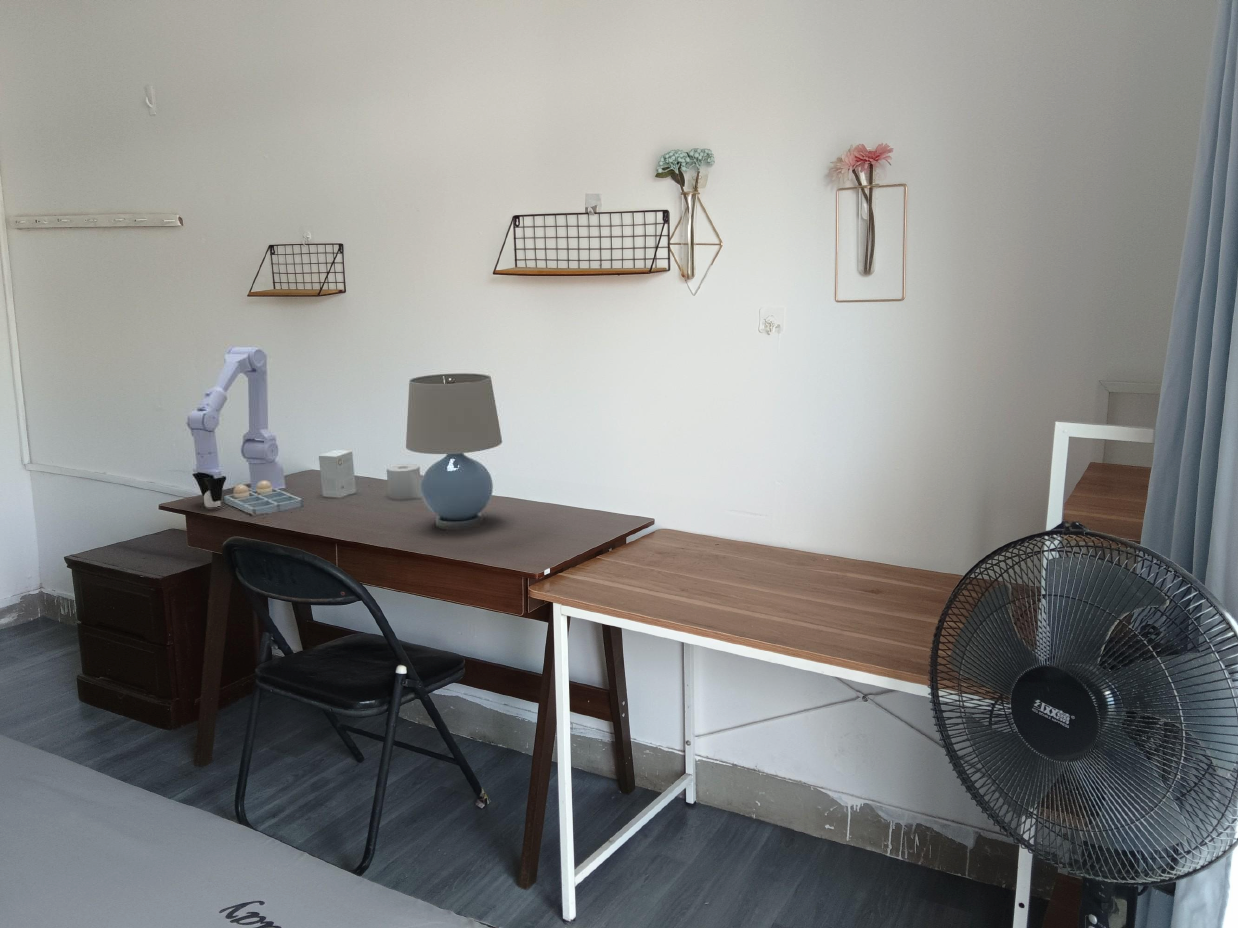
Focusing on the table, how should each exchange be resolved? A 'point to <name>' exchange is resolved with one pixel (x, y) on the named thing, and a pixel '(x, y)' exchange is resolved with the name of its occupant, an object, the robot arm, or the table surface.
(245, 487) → the brown egg
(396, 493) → the toilet tissue
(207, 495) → the cream egg
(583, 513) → the table surface
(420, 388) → the lamp
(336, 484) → the small box
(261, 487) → the brown egg
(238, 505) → the egg carton
